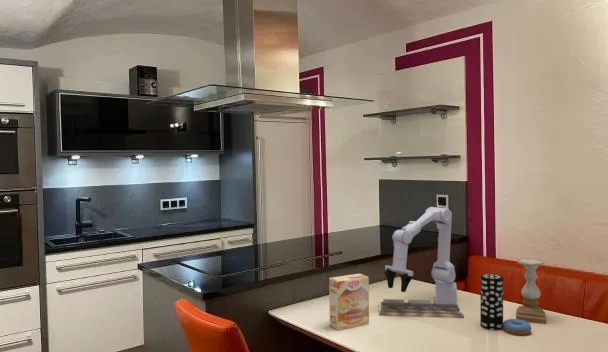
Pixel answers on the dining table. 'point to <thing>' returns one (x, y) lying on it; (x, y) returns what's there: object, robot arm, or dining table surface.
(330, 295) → the coffeecake box
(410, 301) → the key middle
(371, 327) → the dining table surface
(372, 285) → the dining table surface
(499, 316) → the spotted tube
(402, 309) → the switch unit
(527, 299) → the candle holder
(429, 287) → the dining table surface
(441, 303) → the key
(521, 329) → the doughnut
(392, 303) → the key
